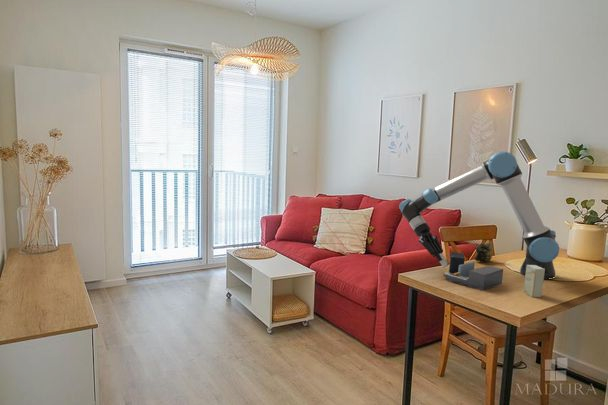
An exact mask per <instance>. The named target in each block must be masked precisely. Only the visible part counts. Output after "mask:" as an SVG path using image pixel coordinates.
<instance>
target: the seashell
mask: <svg viewBox="0 0 608 405" xmlns="http://www.w3.org/2000/svg"><path fill="white" fill-rule="evenodd" d="M492 246H493V245H492V243H491V242H488V243H479V244H477V245H476V246H475V251H476V256H475V259H474V260H475V262H476V261H477V262H484V263H487V262H490V261H491V259H492V258H493V257H492V253H491V252H492V251H493V249H492Z"/></svg>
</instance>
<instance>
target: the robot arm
mask: <svg viewBox="0 0 608 405" xmlns="http://www.w3.org/2000/svg"><path fill="white" fill-rule="evenodd" d="M520 168H521V167H520V166H519V165H518V161H517V159H516V157H515V156H514V155H513V154H512V153H510V152H509V151H503V150H502V151H498V152H496V153H493V154H492V155H491V156H490V157H489V159H487V160H484V162H481V164H480V165H479V166H478V167H475V168H474V169H471V170H469V171H467V172H464V173H463V174H460V175H458V176H456V177H454V178H453V179H450V180H448V181H445V182H444V183H442V184H440V185H438V186H435V187H434V188H428V189H426V190H424V191H423V192H422V193H420V194H419V195H418V196H416V197H415V198H414V199H412V200H411V199H409V198H408V199H405V200H402V201H401V202H400V203H399V206H398V208H399V210H400V212H401V215H403V217H404V218H405V219H406V221H407V222H408V224H409V226H410V227H411V228H412V230H413V233H415V235H416V236H417V237H419V239H418V242H419V243H420V244H421V245H422V246H423V247H424V248H425V249H426V251H427V252H428V253H429V254H430V255H431V256H432V257H433V258H436V259H437V261H438V262H439V263H440V265H441V267H442V268H443V269H444V268H447V267H448V266H449V264H450V263H449V262H448V261H447V259H446V258H445V256H444V255H443V253H444V249H443V247H442V246H441V243H440V242H439V240H438V236H437V235H433V234H432V232H431V228H430V226H429V224H428V223H426V220H425V218H424V217H423V215H422V214H421V213H422V212H424V211H425V210H427V209H428V208H429V207H431V206H433V205H435V204H436V203H438V202H441V201H442V200H445V199H447V198H449V197H451V196H454V195H455V194H458V193H460V192H463V191H464V190H467V189H469V188H472V187H473V186H476V185H478V184H480V183H482V182H485V181H487V180H490V181H492V180H494V181H495V183H496V185H498V186H500V187H501V189H503V191H504V194H505V195H506V197H507V200H508V202H509V204H510V205H511V208H512V210H513V212H514V214H515V216H516V219H517V220H518V223H519V224H520V226H521V228H522V231H523V235H522V239H523V241H524V243H525V244H526V245H525V246H526V250H525V258H524V260H523V262H522V264H521V266H520V270H519V272H520V274H521V275H523V276H525V274H526V266H527V265H537V266H539V267H541V268H543V269H545V273H544V280H550V279H549V278H553V277H555V278H556V270H555V266H554V260H555V259H556V258H557V257H558V255H559V253H560V246H559V243H558V242H557V241H556V237H557V236H556V231H555V230H552V229H550V227H548V226H545V225H544V223H543V221H542V219H541V217H540V215H539V213H538V211H537V209H536V207H535V205H534V203H533V200H532V199H531V197H530V194H529V192H528V190H527V189H526V187H525V184H524V182H523V181H522V175H523V172H522V171H521V169H520Z"/></svg>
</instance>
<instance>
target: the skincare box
mask: <svg viewBox="0 0 608 405" xmlns="http://www.w3.org/2000/svg"><path fill="white" fill-rule="evenodd" d="M544 273H545V269H543V268H541V267H539V266H537V265H527V266H526V274H525V275H524V282H523V291H522V292H523V293H524V294H526V295H528V296H529V297H531V298H542V293H543V287H544V280H545V279H544Z"/></svg>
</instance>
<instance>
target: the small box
mask: <svg viewBox="0 0 608 405" xmlns="http://www.w3.org/2000/svg"><path fill="white" fill-rule="evenodd" d="M464 255H465V254H464V253H461V252H454V251H453V252H452V251H450V257H449V263H448V264H449V265H448V266H449V268H448V272H450V273H458V268H459V265H462V264H465V256H464Z"/></svg>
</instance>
